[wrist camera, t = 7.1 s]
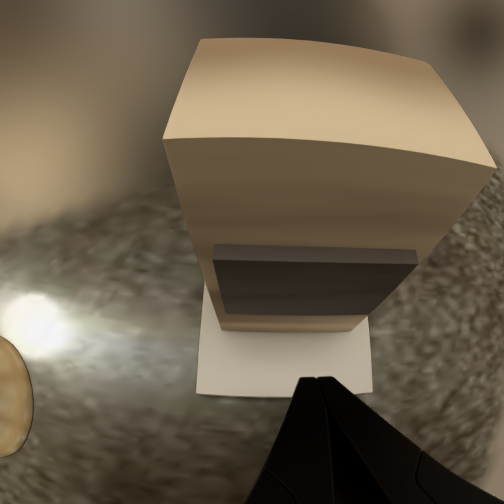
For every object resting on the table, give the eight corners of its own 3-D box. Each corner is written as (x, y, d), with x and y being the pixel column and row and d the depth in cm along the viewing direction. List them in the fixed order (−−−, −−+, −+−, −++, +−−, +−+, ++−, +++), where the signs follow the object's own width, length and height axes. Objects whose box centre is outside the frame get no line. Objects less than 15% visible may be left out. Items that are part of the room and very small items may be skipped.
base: (362, 394, 14) (425, 378, 8) (201, 395, 14) (167, 382, 9) (347, 225, 19) (378, 148, 13) (215, 221, 19) (202, 140, 13)
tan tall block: (351, 339, 14) (505, 185, 4) (221, 338, 14) (156, 156, 4) (343, 255, 16) (428, 62, 6) (226, 252, 16) (200, 39, 6)
